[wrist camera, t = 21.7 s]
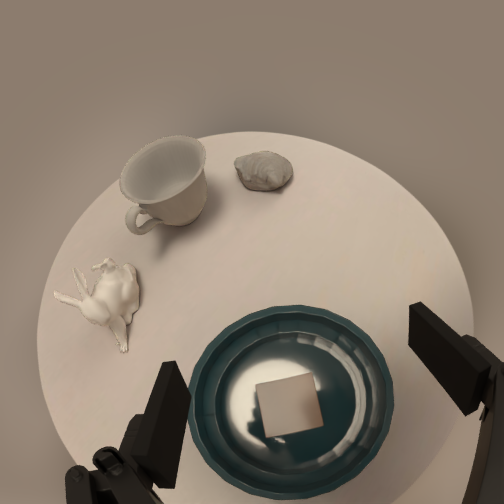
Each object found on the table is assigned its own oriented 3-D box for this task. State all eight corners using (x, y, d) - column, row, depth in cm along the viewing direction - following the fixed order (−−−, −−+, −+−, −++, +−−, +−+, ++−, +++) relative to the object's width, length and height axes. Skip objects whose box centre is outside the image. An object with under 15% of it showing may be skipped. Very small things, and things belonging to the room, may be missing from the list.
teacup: (125, 250, 43) (91, 212, 34) (170, 176, 49) (149, 132, 40) (192, 272, 39) (164, 232, 31) (235, 187, 45) (221, 138, 37)
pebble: (238, 200, 44) (232, 178, 40) (236, 162, 48) (231, 140, 44) (296, 193, 43) (295, 169, 39) (288, 156, 47) (287, 132, 43)
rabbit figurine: (127, 355, 35) (82, 336, 26) (86, 341, 36) (40, 320, 28) (151, 272, 40) (118, 235, 32) (110, 265, 42) (74, 231, 33)
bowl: (403, 360, 30) (422, 351, 25) (324, 508, 23) (329, 526, 18) (257, 294, 37) (250, 274, 31) (174, 430, 30) (152, 434, 24)
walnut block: (306, 381, 30) (312, 372, 22) (315, 419, 28) (324, 425, 19) (266, 389, 30) (254, 384, 22) (274, 428, 28) (265, 438, 20)
